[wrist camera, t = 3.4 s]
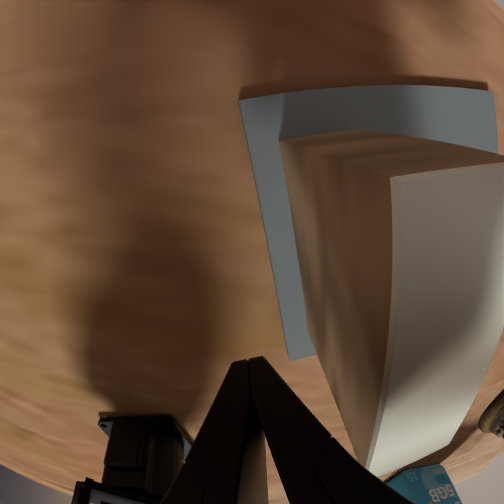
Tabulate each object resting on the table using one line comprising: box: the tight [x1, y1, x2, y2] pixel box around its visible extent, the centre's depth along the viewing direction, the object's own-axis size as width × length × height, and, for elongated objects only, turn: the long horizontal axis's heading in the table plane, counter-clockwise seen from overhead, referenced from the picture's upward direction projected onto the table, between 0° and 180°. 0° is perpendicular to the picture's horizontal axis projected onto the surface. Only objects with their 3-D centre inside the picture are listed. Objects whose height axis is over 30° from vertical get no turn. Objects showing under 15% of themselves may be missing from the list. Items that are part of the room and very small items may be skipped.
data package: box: [386, 464, 462, 504], centre depth 27 cm, size 12×4×12 cm, turn 64°
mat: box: [238, 85, 498, 361], centre depth 15 cm, size 14×15×1 cm
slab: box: [278, 130, 504, 477], centre depth 10 cm, size 10×4×9 cm, turn 11°
